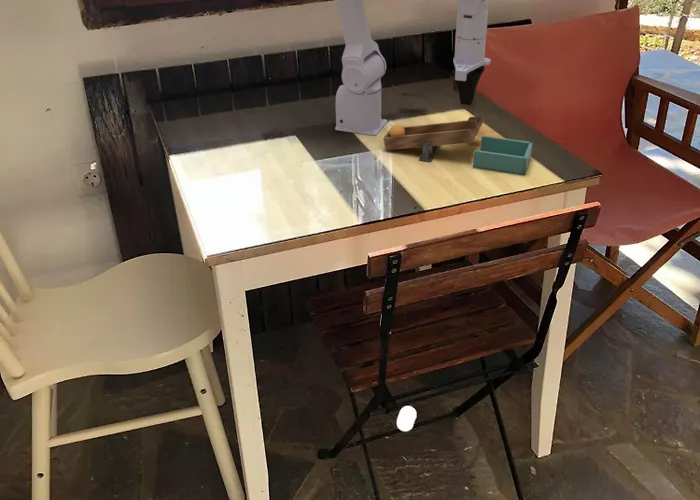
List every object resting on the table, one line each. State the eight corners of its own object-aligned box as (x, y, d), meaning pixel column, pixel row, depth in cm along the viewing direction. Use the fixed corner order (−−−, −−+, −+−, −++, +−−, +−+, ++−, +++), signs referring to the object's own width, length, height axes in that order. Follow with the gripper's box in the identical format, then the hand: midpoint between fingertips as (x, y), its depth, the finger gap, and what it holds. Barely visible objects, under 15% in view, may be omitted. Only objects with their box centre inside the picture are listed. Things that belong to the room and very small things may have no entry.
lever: (385, 151, 146) (382, 139, 145) (402, 128, 155) (399, 117, 154) (471, 143, 138) (469, 131, 137) (484, 120, 147) (482, 108, 146)
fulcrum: (418, 160, 143) (419, 143, 141) (430, 143, 150) (430, 127, 148) (430, 162, 142) (431, 145, 140) (441, 144, 149) (442, 128, 147)
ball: (390, 144, 146) (385, 129, 145) (394, 137, 149) (390, 123, 148) (404, 141, 145) (399, 126, 144) (408, 134, 147) (404, 120, 146)
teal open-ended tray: (472, 167, 140) (474, 151, 138) (480, 151, 146) (482, 135, 144) (524, 175, 137) (526, 158, 135) (530, 158, 143) (532, 142, 141)
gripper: (483, 49, 130) (478, 119, 137) (499, 26, 141) (493, 92, 148) (445, 45, 132) (442, 115, 139) (463, 23, 143) (460, 89, 151)
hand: (466, 103), depth 144 cm, fingers closed
